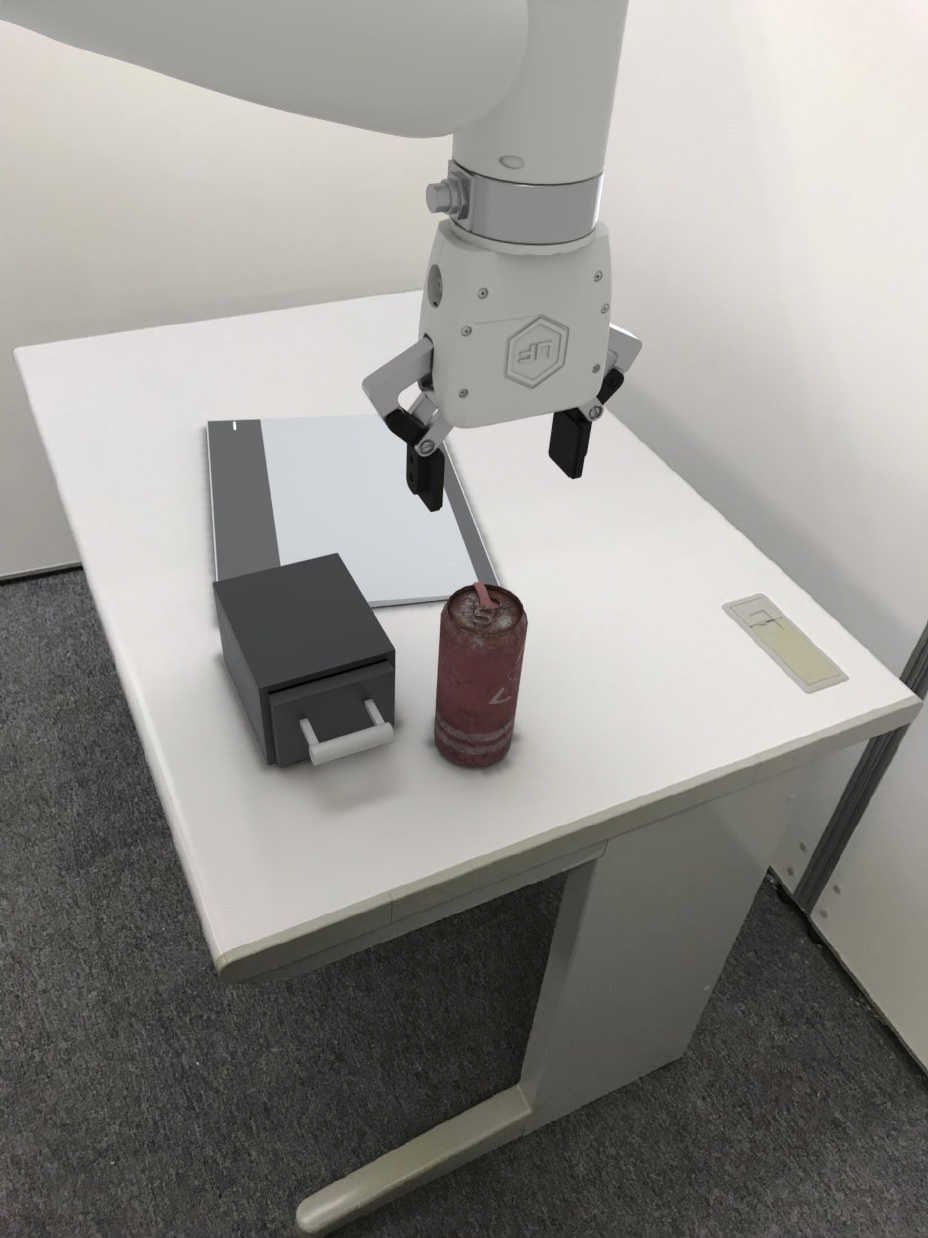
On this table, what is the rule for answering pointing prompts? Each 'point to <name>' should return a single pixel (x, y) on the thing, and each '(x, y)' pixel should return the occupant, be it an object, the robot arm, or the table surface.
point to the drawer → (333, 714)
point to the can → (479, 673)
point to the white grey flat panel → (338, 507)
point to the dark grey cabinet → (294, 632)
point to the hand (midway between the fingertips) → (497, 482)
